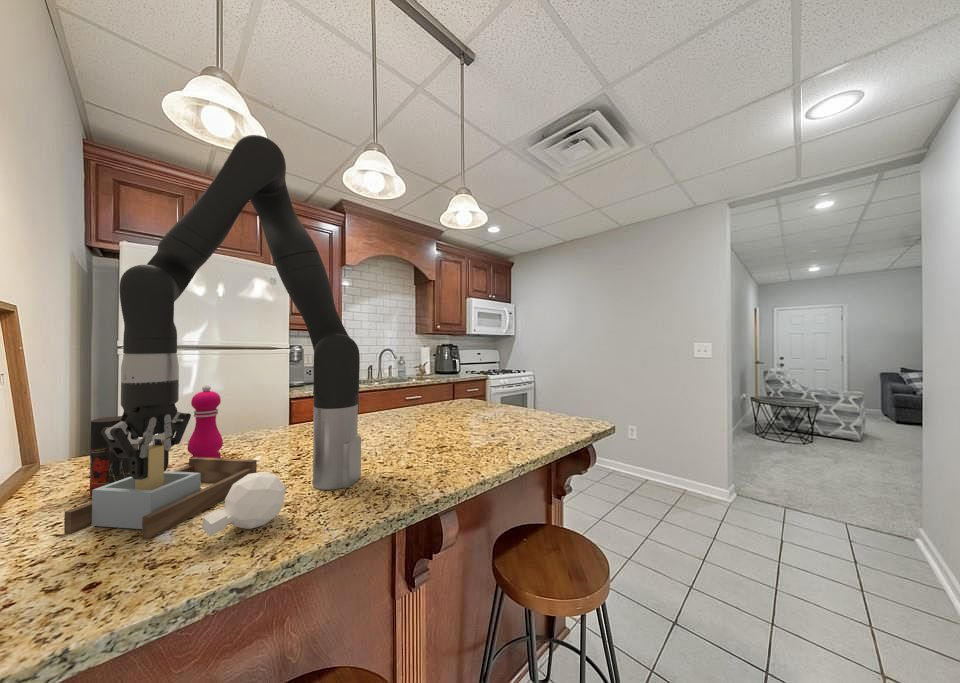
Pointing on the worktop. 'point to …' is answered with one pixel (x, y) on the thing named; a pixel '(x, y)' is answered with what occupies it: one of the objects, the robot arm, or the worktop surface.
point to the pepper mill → (205, 425)
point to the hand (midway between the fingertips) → (150, 474)
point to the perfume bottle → (248, 503)
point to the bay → (181, 510)
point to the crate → (141, 493)
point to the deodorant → (105, 456)
